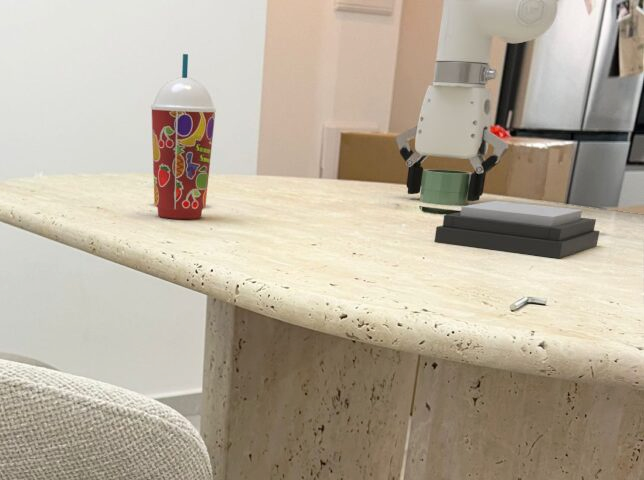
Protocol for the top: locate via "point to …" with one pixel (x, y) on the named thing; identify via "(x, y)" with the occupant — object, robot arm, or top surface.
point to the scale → (518, 235)
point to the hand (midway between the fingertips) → (442, 197)
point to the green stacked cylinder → (444, 189)
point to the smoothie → (182, 146)
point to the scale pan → (522, 213)
